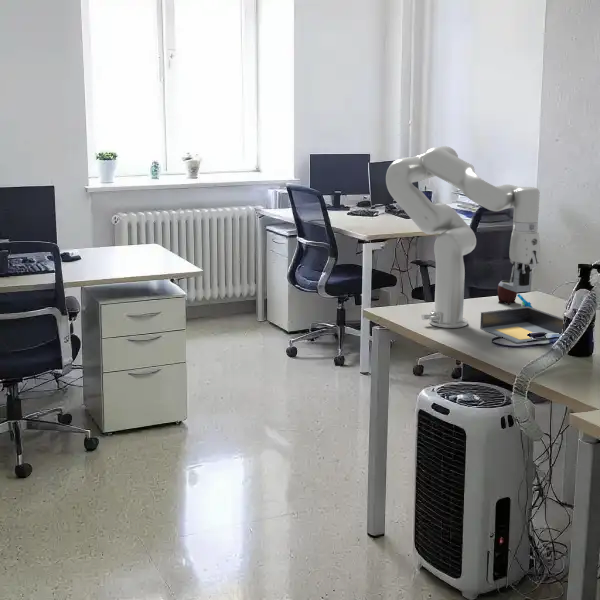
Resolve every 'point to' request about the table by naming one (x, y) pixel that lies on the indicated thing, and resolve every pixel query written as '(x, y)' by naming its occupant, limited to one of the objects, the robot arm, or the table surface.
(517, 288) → the bracket
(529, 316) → the tray
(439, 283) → the robot arm
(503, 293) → the mate gourd
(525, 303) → the blue toy cog wheel
